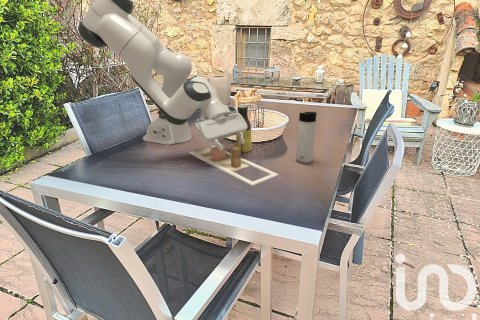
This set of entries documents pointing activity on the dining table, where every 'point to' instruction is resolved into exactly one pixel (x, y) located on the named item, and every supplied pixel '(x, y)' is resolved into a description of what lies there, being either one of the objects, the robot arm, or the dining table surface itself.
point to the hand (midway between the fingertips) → (232, 146)
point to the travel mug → (306, 137)
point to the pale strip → (227, 162)
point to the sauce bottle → (247, 134)
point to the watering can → (221, 87)
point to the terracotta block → (217, 153)
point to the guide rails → (272, 174)
